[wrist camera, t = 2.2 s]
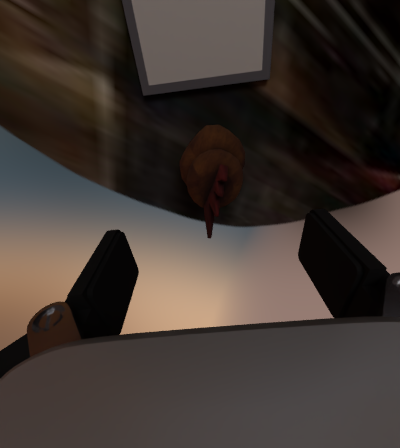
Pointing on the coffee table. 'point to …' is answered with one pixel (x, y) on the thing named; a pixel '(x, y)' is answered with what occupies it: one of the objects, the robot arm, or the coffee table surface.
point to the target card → (199, 42)
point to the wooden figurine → (213, 170)
